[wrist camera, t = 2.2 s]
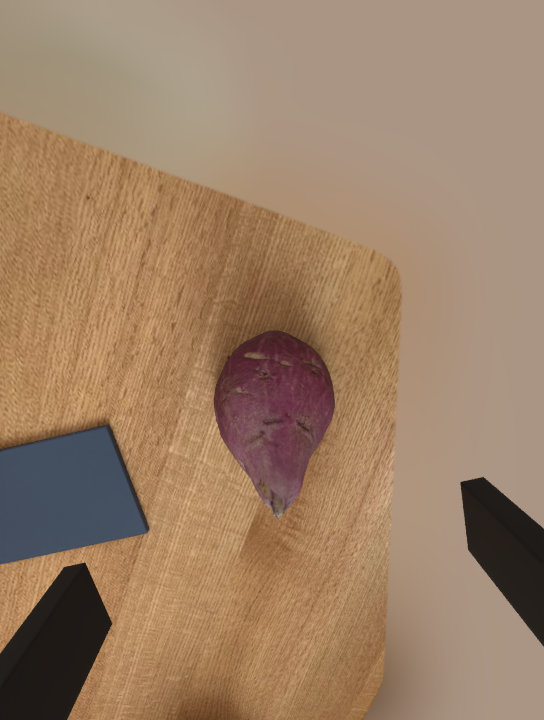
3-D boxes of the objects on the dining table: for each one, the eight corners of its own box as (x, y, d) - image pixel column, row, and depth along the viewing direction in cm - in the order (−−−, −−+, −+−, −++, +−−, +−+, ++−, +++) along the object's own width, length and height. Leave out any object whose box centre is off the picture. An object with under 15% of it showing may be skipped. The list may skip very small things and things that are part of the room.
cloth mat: (109, 424, 29) (106, 427, 29) (149, 528, 32) (147, 533, 31) (-48, 460, 30) (-54, 463, 29) (4, 559, 32) (-1, 564, 32)
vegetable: (312, 421, 33) (367, 572, 20) (214, 419, 31) (201, 582, 18) (333, 329, 28) (424, 447, 15) (218, 321, 26) (205, 445, 13)
